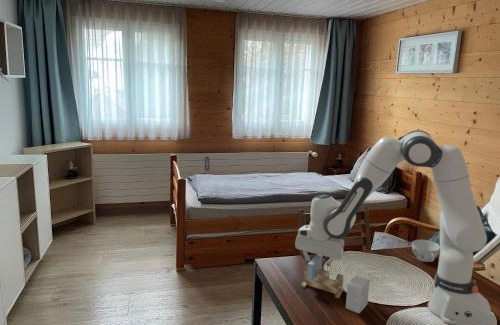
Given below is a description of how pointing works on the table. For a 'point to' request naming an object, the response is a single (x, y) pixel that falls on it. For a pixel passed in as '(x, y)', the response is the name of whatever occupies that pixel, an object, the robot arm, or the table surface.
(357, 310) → the small box
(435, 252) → the teacup
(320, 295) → the table surface
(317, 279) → the pine rail
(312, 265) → the blue slat
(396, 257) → the table surface
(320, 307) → the table surface
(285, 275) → the table surface
